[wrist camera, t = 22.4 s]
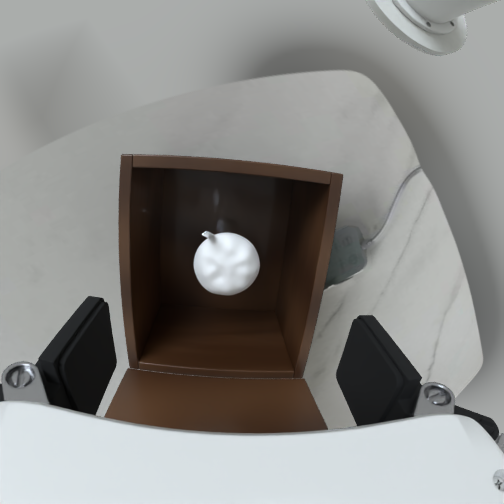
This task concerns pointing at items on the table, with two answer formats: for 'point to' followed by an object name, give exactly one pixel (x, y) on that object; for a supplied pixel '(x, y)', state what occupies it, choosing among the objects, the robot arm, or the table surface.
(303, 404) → the lid
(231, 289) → the milkshake
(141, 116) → the table surface
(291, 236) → the chest
